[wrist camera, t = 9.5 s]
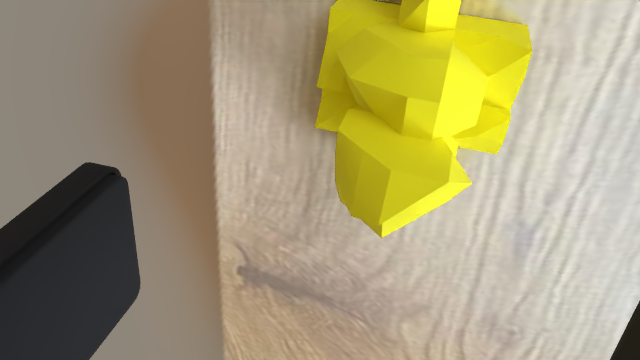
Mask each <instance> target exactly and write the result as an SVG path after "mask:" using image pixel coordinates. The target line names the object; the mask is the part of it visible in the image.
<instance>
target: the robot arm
mask: <svg viewBox="0 0 640 360" xmlns="http://www.w3.org/2000/svg"><path fill="white" fill-rule="evenodd" d="M139 289H140V275H139V268H138V259H137V252H136V243H135V235H134V227H133V219H132V212H131V204H130V195H129V188H128V182H127V180H126V178H124V177H121V174H120V172H119V170H118V169H117V168H114V167H110V166H105V165H100V164H95V163H90V162H89V163H84V164H83V165H81V166H80V167H78V168H77V169H76V170H75V171H73V172H72V173H71V174H70V175H68V176H67V177H66V178H65V179H63V180H62V181H61V182H59V183H58V184H57V185H56V186H54V187H53V188H52V189H51V190H49V191H48V192H47V193H45V194H44V195H43V196H42V197H40V198H39V199H38V200H37V201H35V202H34V203H33V204H31V205H30V206H29V207H28V208H26V209H25V210H24V211H23V212H21V213H20V214H19V215H18V216H16V217H15V218H14V219H13V220H11V221H10V222H9V223H7V224H6V225H5V226H4V227H2V228H1V229H0V360H89V359H90V358H91V357H92V355H93V354H94V352H95V351H96V350H97V349H98V348H99V346H100V345H101V343H102V342H103V341H104V340H105V339H106V337H107V336H108V335H109V333H110V332H111V331H112V330H113V328H114V327H115V326H116V324H117V323H118V322H119V320H120V319H121V318H122V317H123V315H124V314H125V313H126V311H127V310H128V309H129V308H130V306H131V305H132V304H133V302H134V301H135V299H136V298H137V296H138V293H139ZM610 360H640V301H639V303H638V305H637V307H636V309H635V311H634V313H633V315H632V317H631V319H630V321H629V323H628V325H627V327H626V329H625V331H624V333H623V335H622V337H621V339H620V341H619V343H618V345H617V347H616V349H615V351H614V353H613V355H612V357H611V359H610Z"/></svg>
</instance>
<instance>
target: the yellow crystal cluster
mask: <svg viewBox="0 0 640 360" xmlns="http://www.w3.org/2000/svg"><path fill="white" fill-rule="evenodd" d="M460 4H461V0H402V2H401V5H398V4H391V3H385V2H379V1H372V0H337V1H336V2H335V4H334V5H333V6H332V7H331V8H330V14H329V25H328V35H327V40H326V44H325V49H324V54H323V59H322V63H321V68H320V73H319V78H318V82H317V88H322V98H321V102H320V106H319V111H318V115H317V119H316V124H315V128H319V129H324V130H329V131H334V132H338V135H337V144H336V152H335V182H336V186H337V190H338V194H339V198H340V201H341V202H342V203H343V204H345V205H346V206H347V208H348V210H349V212H350V214H351V216H353V217H356V218H359V219H361V220H362V221H363V222H364V223H365V224H367V225H368V226H369V227H370V228H371V229H372V230H373V231H374V232H375V233H377V234H378V235H379V236H380V237H381V238H383V237H385V236H386V235H388V234H390V233H392V232H394V231H395V230H397V229H399V228H401V227H403V226H405V225H406V224H408V223H410V222H412V221H414V220H415V219H417V218H419V217H421V216H423V215H425V214H426V213H428V212H430V211H432V210H434V209H436V208H437V207H439V206H441V205H443V204H445V203H446V202H447V201H449V200H450V199H452V198H453V197H454V196H456V195H457V194H459V193H460V192H461V191H463V190H464V189H466V188H467V187H468V186H470V185H471V184H472V183H471V181H470V179H469V178H468V176H467V175H466V173H465V172H464V170H463V168H462V167H461V165H460V164H459V162H458V161H457V159H456V153H457V149H458V147H462V148H467V149H472V150H477V151H482V152H487V153H493V154H497V153H498V151H499V149H500V147H501V146H502V144H503V142H504V139H505V136H506V132H507V129H508V126H509V122H510V119H511V113H510V109H511V107H512V104H513V102H514V100H515V98H516V96H517V93H518V91H519V89H520V87H521V85H522V82H523V80H524V78H525V74H526V71H527V68H528V64H529V61H530V58H531V55H532V46H531V41H530V35H529V30H528V25H525V24H518V23H512V22H506V21H499V20H493V19H487V18H480V17H474V16H468V15H461V14H458V13H459V9H460Z"/></svg>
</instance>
